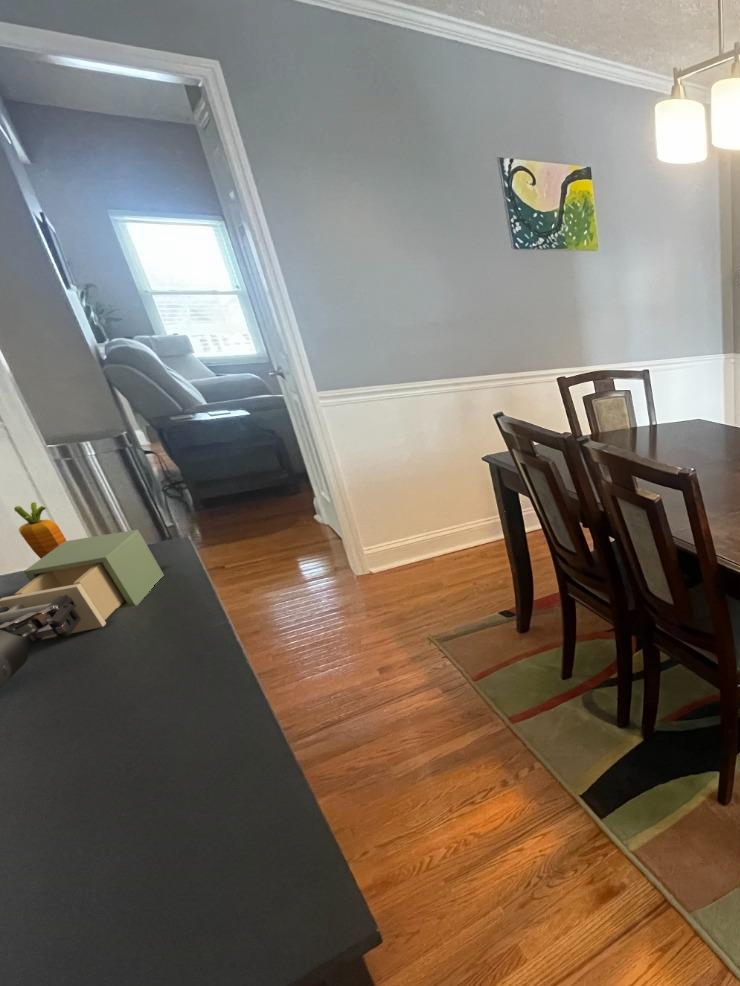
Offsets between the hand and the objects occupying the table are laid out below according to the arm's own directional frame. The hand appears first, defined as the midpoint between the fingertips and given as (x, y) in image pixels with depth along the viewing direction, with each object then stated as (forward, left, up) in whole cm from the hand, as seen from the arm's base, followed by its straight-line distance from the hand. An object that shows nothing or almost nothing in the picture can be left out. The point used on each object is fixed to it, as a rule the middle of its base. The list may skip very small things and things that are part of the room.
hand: (38, 606), depth 88 cm
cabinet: (-3, +16, -7) cm, 18 cm away
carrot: (-17, +29, -7) cm, 34 cm away
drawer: (-1, +5, -6) cm, 8 cm away
